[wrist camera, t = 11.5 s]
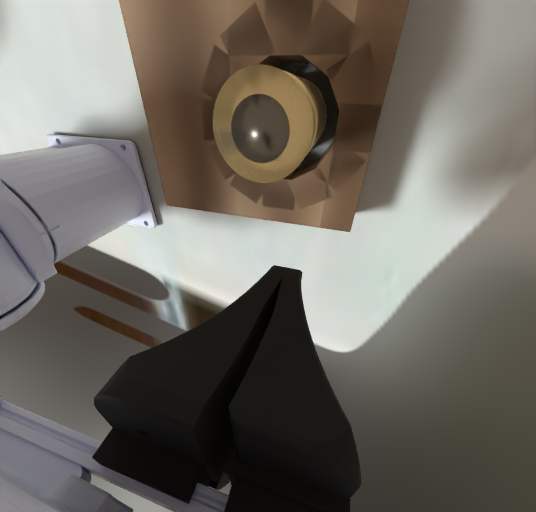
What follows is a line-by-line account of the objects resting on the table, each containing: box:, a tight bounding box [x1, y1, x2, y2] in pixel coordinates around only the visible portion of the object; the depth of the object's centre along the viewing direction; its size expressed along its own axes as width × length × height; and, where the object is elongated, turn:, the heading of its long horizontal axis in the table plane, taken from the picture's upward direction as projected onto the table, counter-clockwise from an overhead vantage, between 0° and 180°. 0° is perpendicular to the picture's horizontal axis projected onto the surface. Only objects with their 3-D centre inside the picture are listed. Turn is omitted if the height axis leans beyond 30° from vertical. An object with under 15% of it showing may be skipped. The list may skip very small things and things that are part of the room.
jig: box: [119, 0, 409, 232], centre depth 15 cm, size 14×12×3 cm
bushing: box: [213, 65, 327, 183], centre depth 13 cm, size 4×4×7 cm
